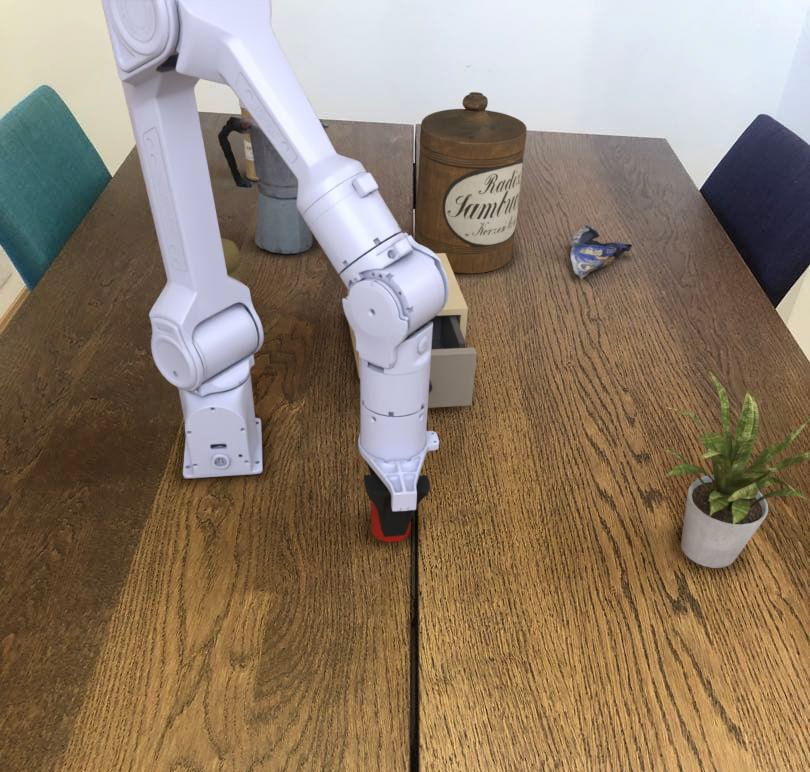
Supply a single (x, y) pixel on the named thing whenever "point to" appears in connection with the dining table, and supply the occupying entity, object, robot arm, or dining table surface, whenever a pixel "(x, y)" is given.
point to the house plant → (730, 486)
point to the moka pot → (270, 191)
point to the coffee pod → (377, 528)
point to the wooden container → (469, 185)
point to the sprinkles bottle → (248, 147)
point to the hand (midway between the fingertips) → (391, 518)
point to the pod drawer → (450, 365)
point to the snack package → (593, 251)
